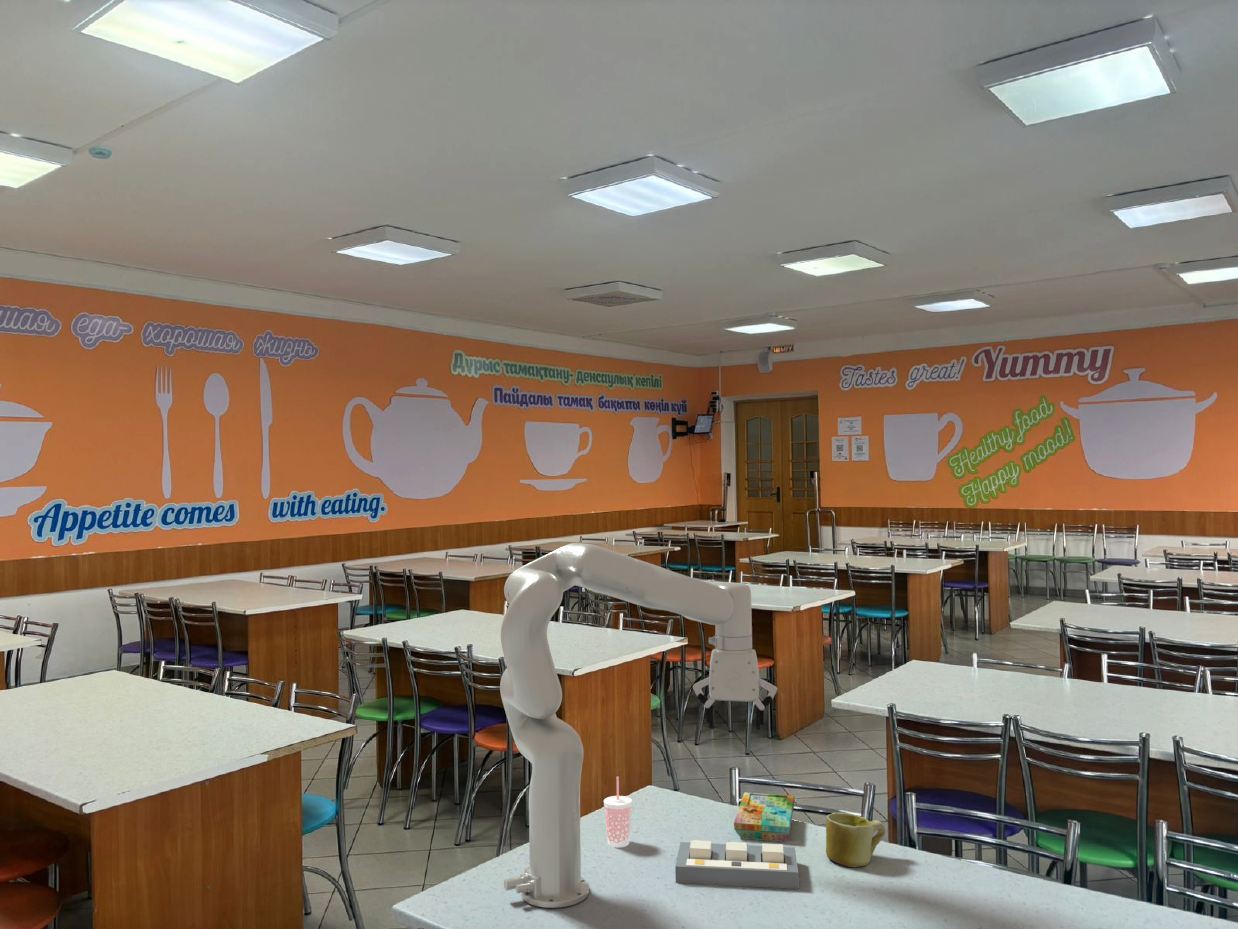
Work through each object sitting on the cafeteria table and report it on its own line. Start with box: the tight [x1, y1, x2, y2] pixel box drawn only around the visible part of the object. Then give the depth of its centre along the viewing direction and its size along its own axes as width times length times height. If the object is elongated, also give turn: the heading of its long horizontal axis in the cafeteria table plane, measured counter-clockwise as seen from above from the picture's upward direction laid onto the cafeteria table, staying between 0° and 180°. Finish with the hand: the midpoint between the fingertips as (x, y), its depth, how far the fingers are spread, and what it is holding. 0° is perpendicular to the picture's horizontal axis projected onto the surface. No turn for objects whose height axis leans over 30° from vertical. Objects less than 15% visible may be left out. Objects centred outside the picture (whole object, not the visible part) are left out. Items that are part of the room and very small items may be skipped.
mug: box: [825, 812, 886, 868], centre depth 175 cm, size 12×10×10 cm
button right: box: [761, 843, 784, 863], centre depth 169 cm, size 4×4×3 cm
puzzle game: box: [733, 792, 795, 842], centre depth 195 cm, size 12×5×20 cm
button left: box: [690, 839, 712, 860], centre depth 171 cm, size 4×4×3 cm
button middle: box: [725, 841, 748, 862], centre depth 170 cm, size 4×4×3 cm
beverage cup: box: [603, 776, 633, 849], centre depth 185 cm, size 6×6×14 cm
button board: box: [674, 841, 799, 890], centre depth 170 cm, size 12×23×3 cm, turn 81°
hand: (735, 727), depth 179 cm, fingers open, 9 cm apart
